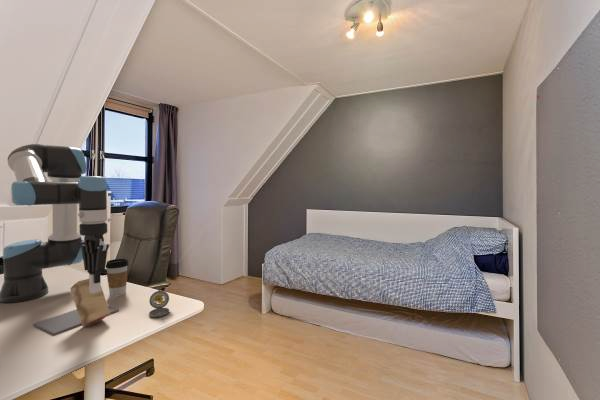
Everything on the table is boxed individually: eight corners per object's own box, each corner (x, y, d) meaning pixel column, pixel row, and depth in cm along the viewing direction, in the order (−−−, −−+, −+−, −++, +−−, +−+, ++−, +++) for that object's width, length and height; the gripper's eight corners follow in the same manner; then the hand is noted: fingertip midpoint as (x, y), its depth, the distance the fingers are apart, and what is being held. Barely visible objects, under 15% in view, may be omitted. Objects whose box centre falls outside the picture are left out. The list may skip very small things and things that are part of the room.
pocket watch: (155, 320, 99) (155, 291, 99) (142, 314, 104) (142, 287, 103) (176, 311, 106) (176, 285, 106) (163, 306, 110) (163, 281, 110)
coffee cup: (118, 298, 118) (117, 262, 118) (101, 296, 120) (100, 261, 119) (133, 291, 127) (133, 258, 126) (117, 289, 128) (117, 257, 128)
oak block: (82, 327, 94) (70, 288, 97) (102, 319, 99) (89, 282, 102) (91, 321, 91) (78, 281, 94) (110, 313, 97) (97, 276, 100)
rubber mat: (33, 325, 95) (33, 323, 95) (98, 303, 113) (98, 302, 113) (53, 335, 88) (53, 333, 88) (119, 310, 106) (119, 309, 106)
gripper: (70, 222, 94) (72, 292, 95) (92, 225, 88) (93, 299, 89) (94, 220, 100) (96, 285, 101) (116, 222, 95) (118, 291, 96)
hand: (95, 291), depth 95 cm, fingers closed
